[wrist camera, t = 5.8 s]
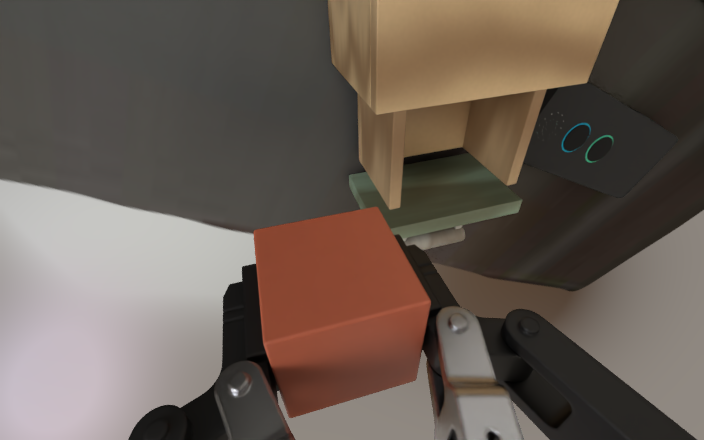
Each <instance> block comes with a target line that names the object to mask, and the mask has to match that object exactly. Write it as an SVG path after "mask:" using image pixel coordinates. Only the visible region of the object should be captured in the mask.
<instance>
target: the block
mask: <svg viewBox="0 0 704 440" xmlns="http://www.w3.org/2000/svg"><path fill="white" fill-rule="evenodd" d="M254 244H255V255H256V267H257V278H258V290H259V302H260V313H261V325H262V336H263V345H264V348H265V351H266V353H267V356H268V359H269V362H270V365H271V368H272V371H273V374H274V376H275V379H276V382H277V385H278V388H279V391H280V394H281V396H282V399H283V402H284V405H285V408H286V411H287V414H288V416H289V418H293V417H296V416H300V415H303V414H306V413H310V412H313V411H316V410H319V409H323V408H326V407H329V406H333V405H336V404H339V403H343V402H346V401H349V400H352V399H356V398H359V397H362V396H366V395H369V394H373V393H376V392H379V391H382V390H386V389H389V388H392V387H396V386H399V385H402V384H406V383H409V382H412V381H415V380H416V378H417V373H418V368H419V362H420V357H421V352H422V347H423V342H424V337H425V332H426V327H427V321H428V316H429V311H430V306H431V300H430V298H429V296H428V294H427V293H426V291H425V289H424V287H423V286H422V284H421V282H420V280H419V279H418V277H417V275H416V273H415V272H414V270H413V268H412V266H411V264H410V263H409V261H408V259H407V257H406V256H405V254H404V252H403V250H402V249H401V247H400V245H399V243H398V241H397V240H396V238H395V236H394V234H393V233H392V231H391V229H390V227H389V226H388V224H387V222H386V220H385V218H384V217H383V215H382V213H381V211H380V210H379V208H378V207H371V208H366V209H361V210H356V211H350V212H345V213H340V214H335V215H329V216H324V217H319V218H314V219H309V220H303V221H298V222H293V223H288V224H282V225H277V226H272V227H267V228H262V229H256V230H254Z"/></svg>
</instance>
